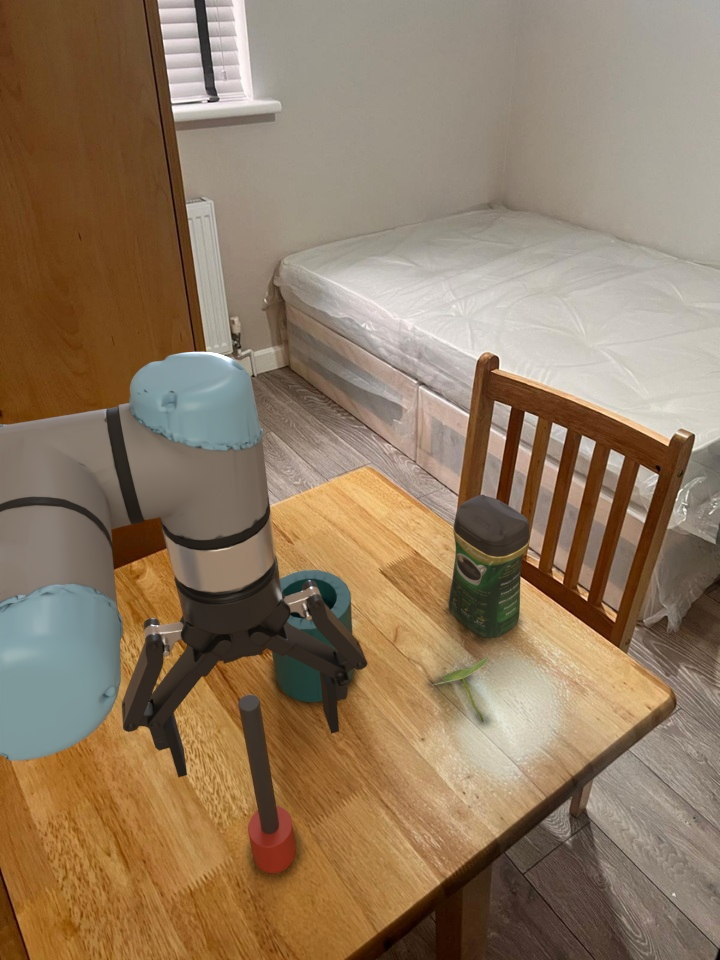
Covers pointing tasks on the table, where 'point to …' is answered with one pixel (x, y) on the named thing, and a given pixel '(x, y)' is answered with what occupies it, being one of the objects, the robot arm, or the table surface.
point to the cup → (311, 632)
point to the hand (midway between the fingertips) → (258, 741)
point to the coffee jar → (488, 565)
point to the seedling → (464, 673)
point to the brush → (265, 797)
